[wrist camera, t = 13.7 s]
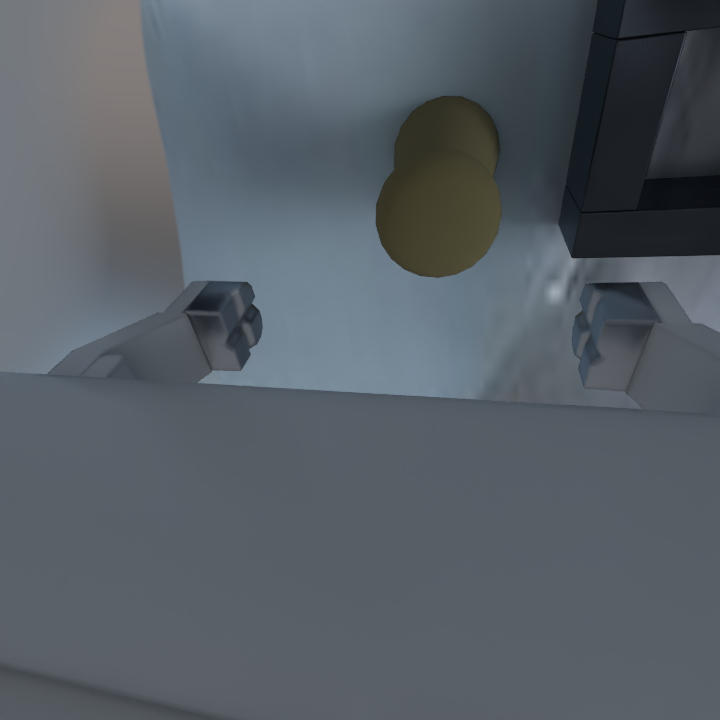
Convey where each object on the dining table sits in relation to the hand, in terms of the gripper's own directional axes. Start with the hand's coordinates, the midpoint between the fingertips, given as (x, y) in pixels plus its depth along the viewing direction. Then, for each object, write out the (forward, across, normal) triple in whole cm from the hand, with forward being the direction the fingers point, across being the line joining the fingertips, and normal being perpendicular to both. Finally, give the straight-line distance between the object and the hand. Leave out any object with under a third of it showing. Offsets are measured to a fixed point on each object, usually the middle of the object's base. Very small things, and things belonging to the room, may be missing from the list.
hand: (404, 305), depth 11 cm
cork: (+18, 0, +2) cm, 18 cm away
